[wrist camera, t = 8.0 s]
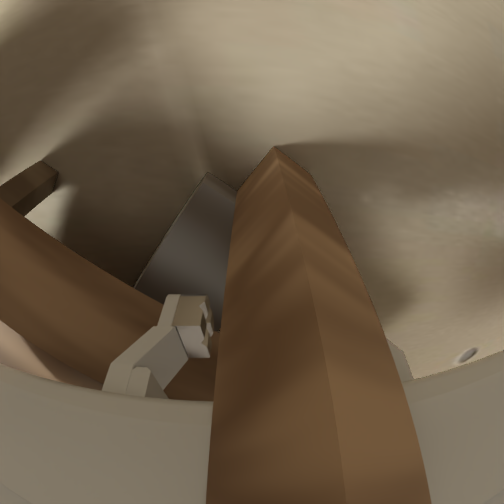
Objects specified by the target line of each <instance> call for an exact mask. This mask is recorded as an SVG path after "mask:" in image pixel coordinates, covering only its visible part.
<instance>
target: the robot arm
mask: <svg viewBox="0 0 504 504" xmlns="http://www.w3.org/2000/svg"><path fill="white" fill-rule="evenodd" d="M209 305H210V300H209V296H208V294H169V295H168V296H167V297H166V300H165V303H164V306H163V309H162V312H161V315H160V318H159V322H158V325H157V326H153V327H152V328H151V329H150V330H149V331H147V332H146V333H145V334H144V335H143V336H142V337H140V338H139V339H138V340H137V341H136V342H135V343H133V344H132V345H131V346H130V347H129V348H128V349H127V350H125V351H124V352H123V353H122V354H121V355H120V356H118V357H117V358H116V359H115V360H114V361H113V362H112V363H111V364H110V367H109V370H108V373H107V376H106V379H105V382H104V385H103V388H102V391H101V390H96V389H90V388H85V387H80V386H76V385H71V384H67V383H63V382H59V381H55V380H51V379H47V378H43V377H40V376H36V375H33V374H29V373H26V372H23V371H19V370H16V369H13V368H10V367H7V366H5V365H2V364H0V504H206V491H207V476H208V462H209V449H210V436H211V424H212V412H213V401H188V400H173V399H169V398H168V397H167V395H166V394H165V392H164V391H163V390H164V389H165V387H166V386H167V385H168V384H169V382H170V381H171V380H172V379H173V378H174V376H175V375H176V374H177V373H178V371H179V370H180V369H181V368H182V366H183V365H184V364H185V363H186V362H187V360H188V358H210V356H211V348H212V341H211V338H210V337H211V336H212V335H213V332H214V318H213V312H212V310H211V309H210V308H209ZM386 340H387V342H388V345H389V348H390V351H391V353H392V356H393V359H394V362H395V365H396V368H397V371H398V374H399V377H400V380H401V383H402V386H403V389H404V392H405V395H406V399H407V402H408V405H409V409H410V412H411V416H412V419H413V423H414V426H415V430H416V434H417V438H418V442H419V446H420V450H421V454H422V458H423V462H424V467H425V472H426V476H427V481H428V487H429V492H430V498H431V504H504V350H503V351H500V352H498V353H495V354H493V355H490V356H488V357H485V358H482V359H480V360H477V361H474V362H471V363H468V364H465V365H463V366H460V367H456V368H453V369H450V370H447V371H444V372H440V373H437V374H433V375H430V376H426V377H422V378H418V379H413V376H412V373H411V371H410V368H409V365H408V362H407V360H406V357H405V355H404V352H403V351H402V350H401V349H399V348H398V347H397V346H395V345H394V344H393V343H392V342H390V341H389V340H388V339H386Z"/></svg>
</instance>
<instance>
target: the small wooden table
mask: <svg viewBox="0 0 504 504" xmlns="http://www.w3.org/2000/svg"><path fill="white" fill-rule="evenodd" d="M57 174H58V172H57V171H56V170H54V169H53V168H51V167H50V166H48V165H47V164H45V163H44V162H42V161H41V160H40V161H39V162H37V163H35V164H34V165H32V166H30V167H29V168H27V169H25V170H24V171H22V172H21V173H19V174H18V175H16V176H15V177H13V178H12V179H10V180H9V181H7V182H6V183H4V184H3V185H1V186H0V364H2V365H5V366H7V367H10V368H13V369H16V370H19V371H23V372H26V373H29V374H33V375H36V376H40V377H43V378H47V379H51V380H55V381H59V382H63V383H67V384H71V385H76V386H80V387H85V388H90V389H96V390H101V391H102V388H103V385H104V382H105V379H106V376H107V373H108V370H109V367H110V364H111V363H112V362H113V361H114V360H115V359H116V358H117V357H118V356H120V355H121V354H122V353H123V352H124V351H125V350H127V349H128V348H129V347H130V346H131V345H132V344H133V343H135V342H136V341H137V340H138V339H139V338H140V337H142V336H143V335H144V334H145V333H146V332H147V331H149V330H150V329H151V328H152V327H153V326H157V325H158V322H159V318H160V315H161V312H162V309H163V306H164V305H163V304H161V303H159V302H158V301H156V300H154V299H152V298H150V297H148V296H147V295H145V294H143V293H141V292H140V291H138V290H136V289H134V288H133V287H131V286H129V285H127V284H126V283H124V282H122V281H121V280H119V279H117V278H115V277H114V276H112V275H110V274H109V273H107V272H106V271H104V270H102V269H101V268H99V267H97V266H96V265H94V264H93V263H91V262H89V261H88V260H86V259H85V258H83V257H82V256H80V255H78V254H77V253H75V252H74V251H72V250H71V249H69V248H68V247H66V246H65V245H63V244H62V243H60V242H59V241H57V240H56V239H55V238H53V237H52V236H50V235H49V234H47V233H46V232H44V231H43V230H42V229H40V228H39V227H37V226H36V225H35V224H33V223H32V222H31V221H29V220H28V219H27V218H25V217H24V216H25V215H26V214H28V213H29V212H30V211H31V210H32V209H33V208H35V207H36V206H37V205H38V204H39V203H40V202H42V201H43V200H44V199H45V198H46V197H48V196H49V195H50V194H51V193H52V191H53V188H54V184H55V181H56V178H57ZM210 338H211V341H212V348H211V356H210V358H188V360H187V362H186V363H185V364H184V365H183V366H182V368H181V369H180V370H179V371H178V373H177V374H176V375H175V376H174V378H173V379H172V380H171V381H170V382H169V384H168V385H167V386H166V387H165V389H164V390H163V391H164V392H165V394H166V395H167V397H168V398H169V399H173V400H188V401H214V390H215V379H216V368H217V358H218V348H219V339H220V333H218V332H216V331H214V332H213V335H212V336H211V337H210Z"/></svg>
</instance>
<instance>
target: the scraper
mask: <svg viewBox="0 0 504 504" xmlns="http://www.w3.org/2000/svg"><path fill="white" fill-rule="evenodd" d="M133 288H134V289H136V290H138V291H140V292H141V293H143V294H145V295H147V296H148V297H150V298H152V299H154V300H156V301H158V302H159V303H161V304H163V305H164V303H165V300H166V297H167V296H168V295H169V294H208V296H209V300H210V305H209V308H210V309H211V310H212V312H213V318H214V331H216V332H217V331H218V330H219V329H220V328H221V329H220V339H219V348H218V358H217V368H216V379H215V390H214V401H213V412H212V424H211V436H210V449H209V462H208V476H207V491H206V504H431V498H430V492H429V487H428V481H427V476H426V472H425V467H424V462H423V458H422V454H421V450H420V446H419V442H418V438H417V434H416V430H415V426H414V423H413V419H412V416H411V412H410V409H409V405H408V402H407V399H406V395H405V392H404V389H403V386H402V383H401V380H400V377H399V374H398V371H397V368H396V365H395V362H394V359H393V356H392V353H391V351H390V348H389V345H388V342H387V340H386V337H385V334H384V332H383V329H382V326H381V324H380V321H379V319H378V316H377V314H376V311H375V309H374V306H373V304H372V301H371V299H370V297H369V294H368V292H367V289H366V287H365V285H364V282H363V280H362V278H361V276H360V273H359V271H358V269H357V266H356V264H355V262H354V260H353V258H352V255H351V253H350V251H349V249H348V247H347V245H346V243H345V241H344V238H343V236H342V234H341V232H340V230H339V228H338V226H337V224H336V222H335V220H334V218H333V216H332V214H331V212H330V210H329V208H328V206H327V204H326V202H325V200H324V198H323V196H322V195H321V193H320V191H319V189H318V187H317V185H316V183H315V181H314V180H313V178H312V176H311V175H310V174H309V173H308V172H307V171H305V170H304V169H303V168H302V167H300V166H299V165H298V164H297V163H295V162H294V161H293V160H291V159H290V158H289V157H287V156H286V155H285V154H284V153H282V152H281V151H280V150H278V149H277V148H276V147H273V148H272V149H271V150H270V151H269V153H268V154H267V155H266V156H265V157H264V159H263V160H262V161H261V162H260V163H259V165H258V166H257V167H256V168H255V170H254V171H253V172H252V173H251V175H250V176H249V177H248V178H247V179H246V181H245V182H244V183H243V184H242V186H241V187H240V188H239V190H238V191H236V190H234V189H233V188H231V187H230V186H228V185H227V184H225V183H224V182H222V181H221V180H219V179H218V178H216V177H215V176H213V175H212V174H210V173H208V172H207V174H206V175H205V177H204V178H203V179H202V181H201V182H200V184H199V185H198V186H197V188H196V189H195V191H194V192H193V194H192V195H191V197H190V198H189V200H188V201H187V203H186V204H185V205H184V207H183V208H182V210H181V211H180V213H179V214H178V216H177V218H176V219H175V221H174V222H173V224H172V225H171V227H170V228H169V230H168V231H167V233H166V235H165V236H164V238H163V239H162V241H161V242H160V244H159V246H158V247H157V249H156V250H155V252H154V254H153V255H152V257H151V259H150V260H149V262H148V264H147V265H146V267H145V269H144V270H143V272H142V274H141V275H140V277H139V279H138V280H137V282H136V284H135V286H134V287H133Z"/></svg>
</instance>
